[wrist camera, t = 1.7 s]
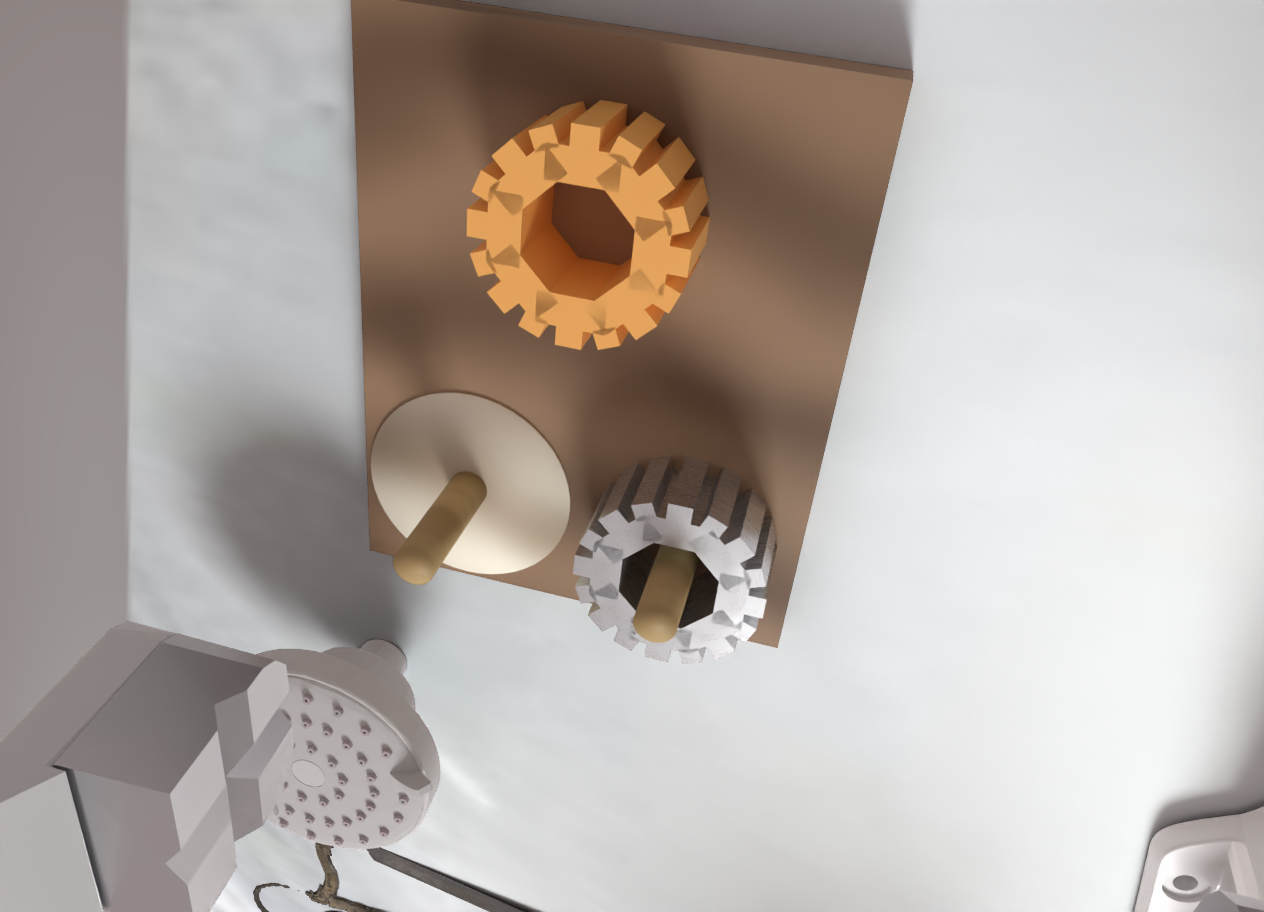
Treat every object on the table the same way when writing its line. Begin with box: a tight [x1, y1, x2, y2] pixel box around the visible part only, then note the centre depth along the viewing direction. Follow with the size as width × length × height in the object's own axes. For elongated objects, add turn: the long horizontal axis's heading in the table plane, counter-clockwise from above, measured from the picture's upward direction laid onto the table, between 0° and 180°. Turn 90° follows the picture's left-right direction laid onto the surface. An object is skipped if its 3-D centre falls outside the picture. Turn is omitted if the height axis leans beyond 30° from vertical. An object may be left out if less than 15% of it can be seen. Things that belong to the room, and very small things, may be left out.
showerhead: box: [256, 639, 440, 849], centre depth 42 cm, size 9×7×10 cm
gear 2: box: [573, 456, 777, 663], centre depth 35 cm, size 6×6×3 cm
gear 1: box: [467, 100, 710, 350], centre depth 30 cm, size 6×6×3 cm
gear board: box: [351, 0, 913, 648], centre depth 32 cm, size 20×16×6 cm
